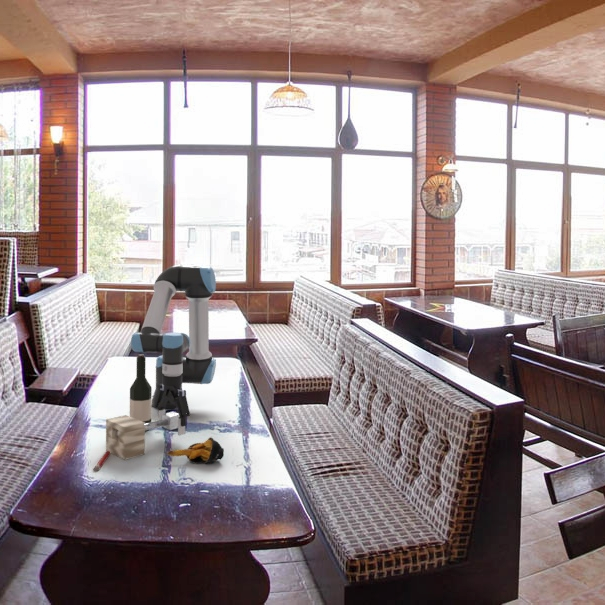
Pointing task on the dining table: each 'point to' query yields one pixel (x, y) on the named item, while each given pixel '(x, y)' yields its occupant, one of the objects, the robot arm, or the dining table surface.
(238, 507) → the dining table surface
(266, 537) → the dining table surface
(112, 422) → the eye block
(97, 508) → the dining table surface
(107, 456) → the flare
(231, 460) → the dining table surface
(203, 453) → the fried shrimp in bowl
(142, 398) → the wine bottle
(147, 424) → the pull pin
